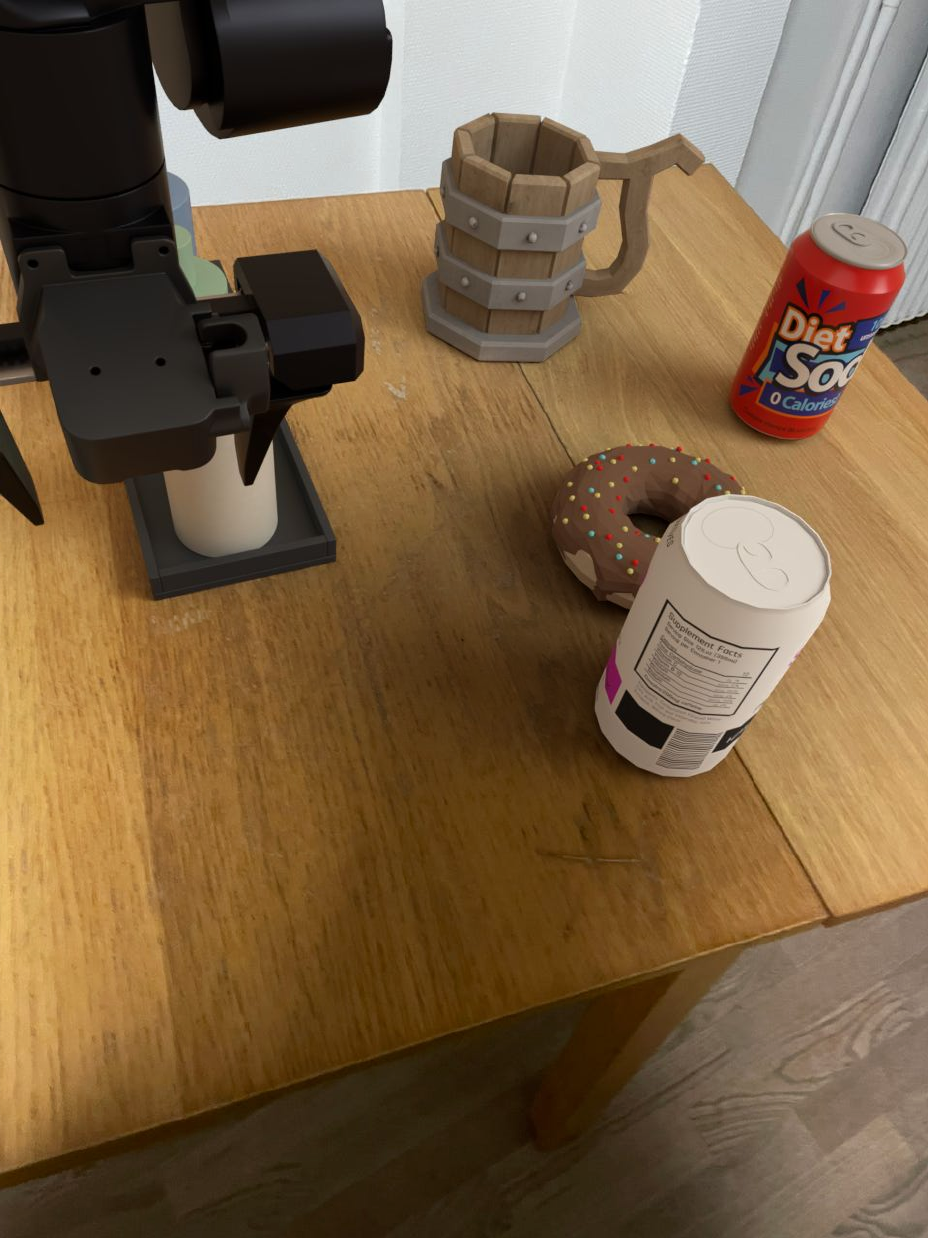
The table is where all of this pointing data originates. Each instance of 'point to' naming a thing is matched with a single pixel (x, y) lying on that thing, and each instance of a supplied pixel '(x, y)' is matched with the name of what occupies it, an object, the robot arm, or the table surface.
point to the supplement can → (711, 632)
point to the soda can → (817, 324)
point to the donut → (626, 512)
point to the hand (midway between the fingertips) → (146, 498)
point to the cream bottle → (223, 504)
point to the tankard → (532, 232)
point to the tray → (290, 548)
